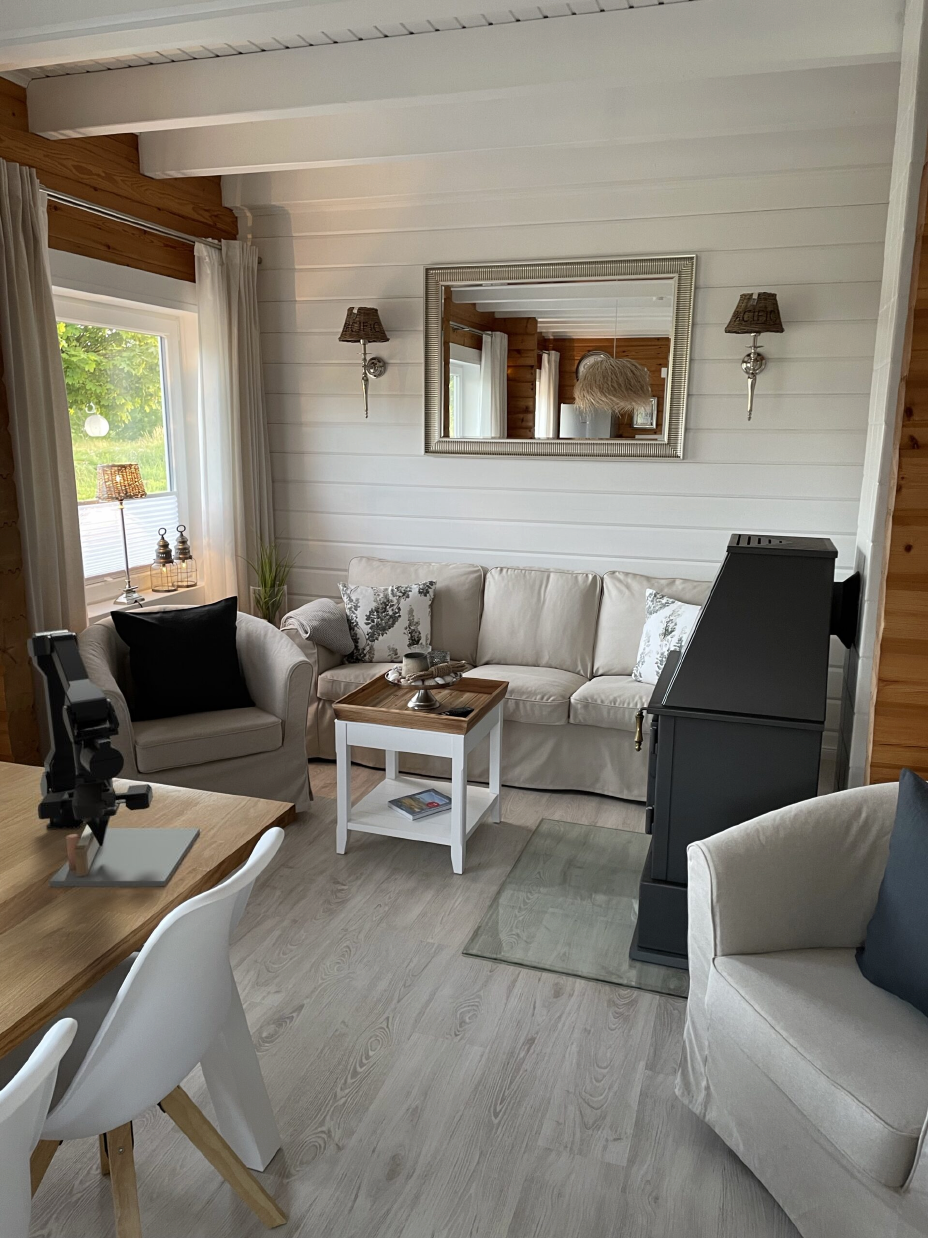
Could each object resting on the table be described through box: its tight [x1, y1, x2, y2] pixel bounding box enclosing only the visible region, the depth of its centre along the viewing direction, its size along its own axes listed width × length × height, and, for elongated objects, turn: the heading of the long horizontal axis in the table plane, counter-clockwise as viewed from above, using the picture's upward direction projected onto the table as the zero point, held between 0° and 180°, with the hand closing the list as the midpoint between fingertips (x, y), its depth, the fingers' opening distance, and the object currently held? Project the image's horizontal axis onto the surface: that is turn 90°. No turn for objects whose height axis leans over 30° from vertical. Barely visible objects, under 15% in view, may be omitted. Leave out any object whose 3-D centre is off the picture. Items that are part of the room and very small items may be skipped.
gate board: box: [49, 827, 201, 887], centre depth 168 cm, size 20×22×8 cm
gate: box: [74, 824, 99, 876], centre depth 165 cm, size 14×2×5 cm, turn 12°
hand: (101, 845), depth 166 cm, fingers closed
